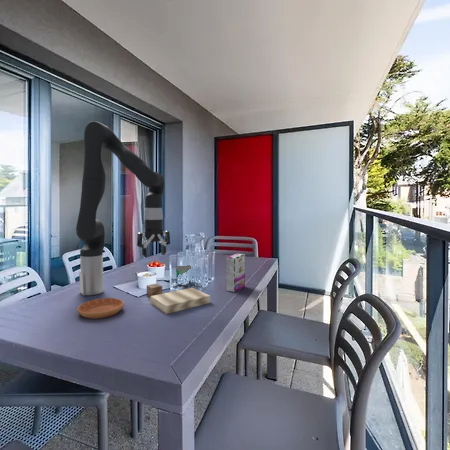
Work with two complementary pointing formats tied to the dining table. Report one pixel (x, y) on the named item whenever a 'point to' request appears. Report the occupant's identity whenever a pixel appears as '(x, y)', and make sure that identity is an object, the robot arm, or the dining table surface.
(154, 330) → the dining table surface
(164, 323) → the dining table surface
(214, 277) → the dining table surface
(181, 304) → the wooden block
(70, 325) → the dining table surface
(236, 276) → the candy bar box
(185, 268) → the food container
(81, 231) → the robot arm
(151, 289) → the walnut cube
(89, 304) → the saucer
